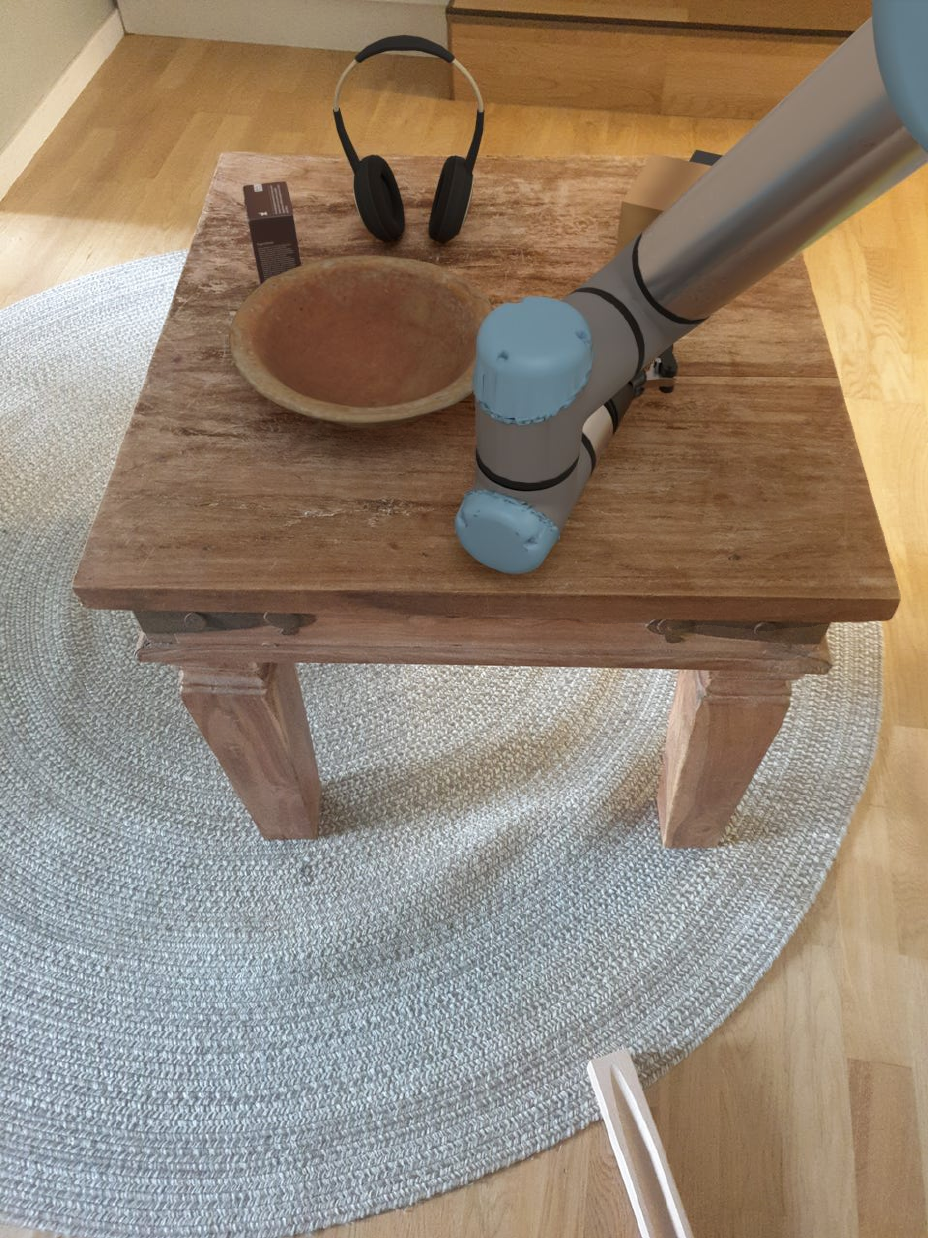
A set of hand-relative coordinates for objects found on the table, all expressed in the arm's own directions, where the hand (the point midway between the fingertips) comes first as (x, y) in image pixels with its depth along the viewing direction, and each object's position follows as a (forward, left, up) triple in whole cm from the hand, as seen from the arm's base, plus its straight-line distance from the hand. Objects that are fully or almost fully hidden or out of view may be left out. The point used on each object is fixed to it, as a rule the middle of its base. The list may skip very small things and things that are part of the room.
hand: (665, 256), depth 88 cm
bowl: (+26, +15, -6) cm, 30 cm away
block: (-5, -13, -6) cm, 15 cm away
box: (+37, +4, -6) cm, 38 cm away
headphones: (+26, -10, -6) cm, 29 cm away
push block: (-1, -5, -6) cm, 8 cm away
